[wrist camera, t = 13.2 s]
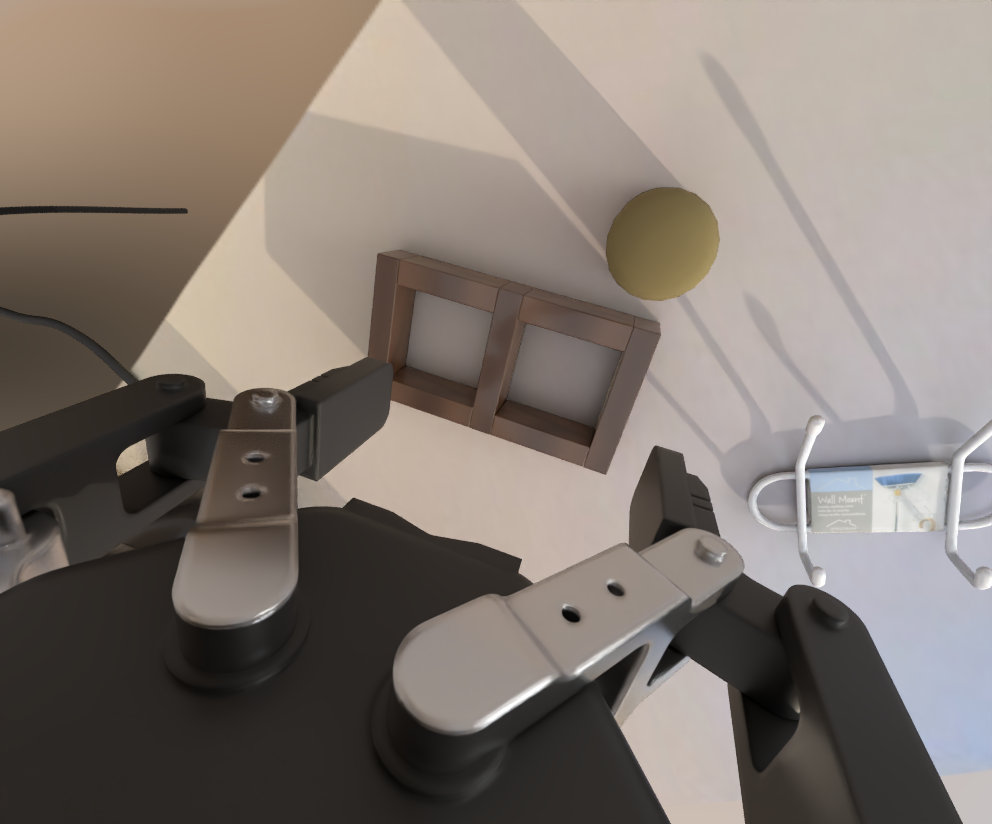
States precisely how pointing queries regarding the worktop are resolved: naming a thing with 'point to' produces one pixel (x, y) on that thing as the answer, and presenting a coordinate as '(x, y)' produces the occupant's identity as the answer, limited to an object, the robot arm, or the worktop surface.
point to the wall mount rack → (880, 500)
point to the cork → (662, 243)
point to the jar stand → (507, 356)
